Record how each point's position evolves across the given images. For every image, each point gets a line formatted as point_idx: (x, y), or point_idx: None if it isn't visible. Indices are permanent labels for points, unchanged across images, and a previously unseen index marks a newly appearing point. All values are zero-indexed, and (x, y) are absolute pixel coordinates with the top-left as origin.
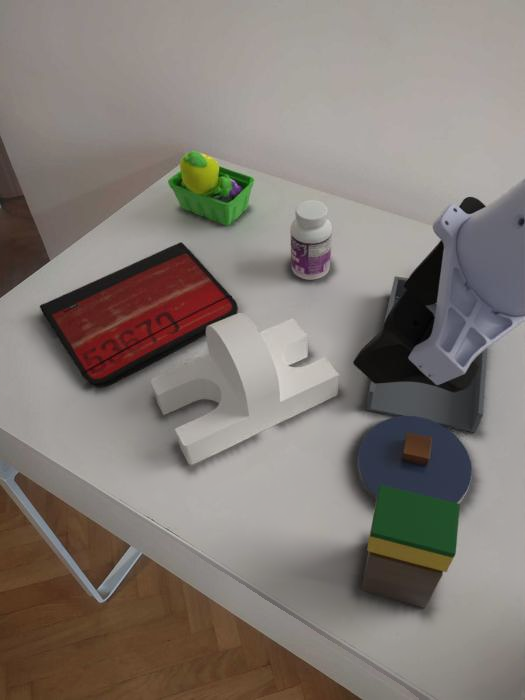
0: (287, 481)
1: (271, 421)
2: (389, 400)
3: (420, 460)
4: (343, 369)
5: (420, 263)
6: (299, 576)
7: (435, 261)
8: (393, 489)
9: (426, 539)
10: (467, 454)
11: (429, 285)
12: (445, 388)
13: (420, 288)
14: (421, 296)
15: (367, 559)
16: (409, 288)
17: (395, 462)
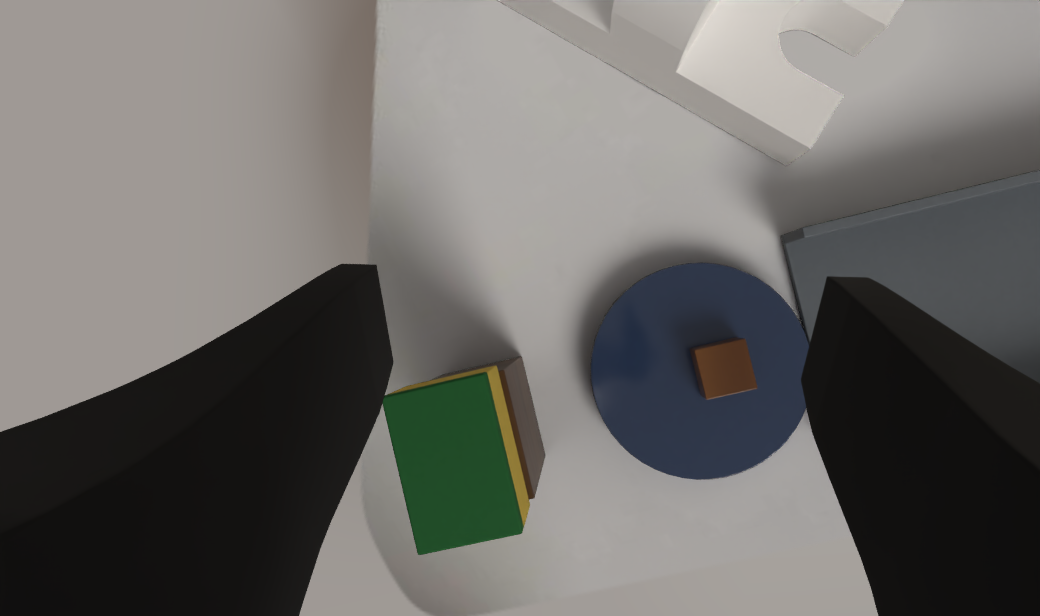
0: (554, 175)
1: (649, 79)
2: (824, 270)
3: (700, 383)
4: (861, 145)
5: (936, 325)
6: (413, 277)
7: (931, 421)
8: (486, 402)
9: (418, 497)
10: (766, 457)
11: (847, 397)
12: None
13: (831, 356)
14: (817, 364)
15: (466, 371)
16: (827, 305)
17: (679, 339)
